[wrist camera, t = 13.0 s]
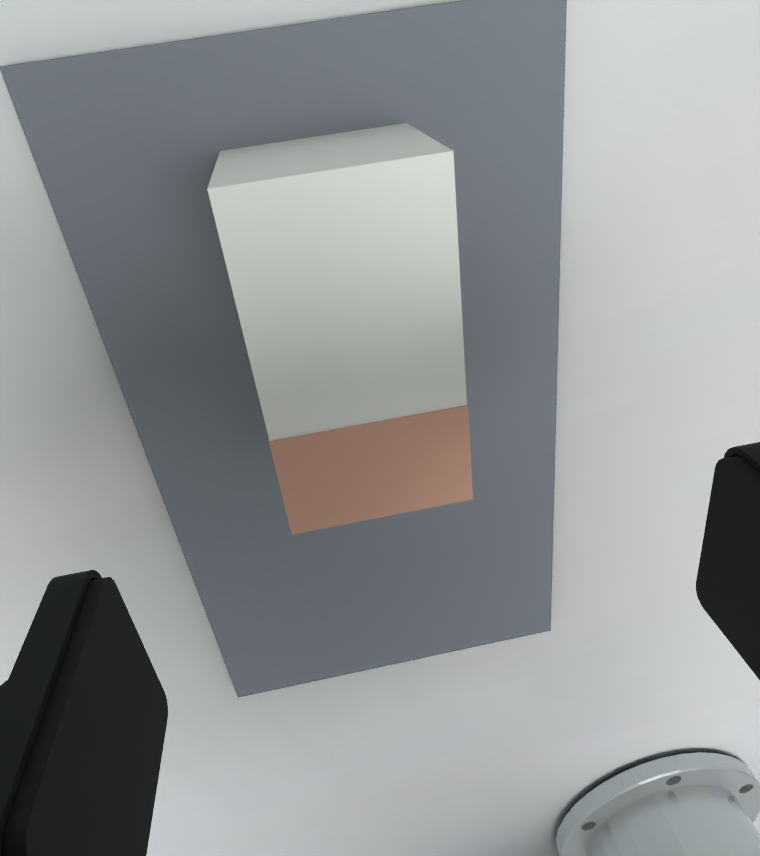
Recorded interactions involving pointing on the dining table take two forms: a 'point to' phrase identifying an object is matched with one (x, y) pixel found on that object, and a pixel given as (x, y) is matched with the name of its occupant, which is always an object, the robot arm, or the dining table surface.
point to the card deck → (351, 318)
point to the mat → (224, 342)
